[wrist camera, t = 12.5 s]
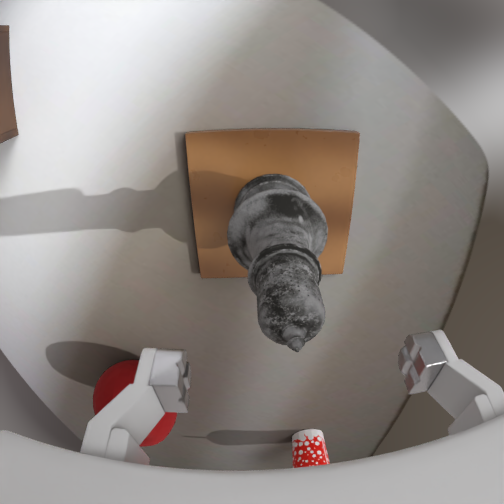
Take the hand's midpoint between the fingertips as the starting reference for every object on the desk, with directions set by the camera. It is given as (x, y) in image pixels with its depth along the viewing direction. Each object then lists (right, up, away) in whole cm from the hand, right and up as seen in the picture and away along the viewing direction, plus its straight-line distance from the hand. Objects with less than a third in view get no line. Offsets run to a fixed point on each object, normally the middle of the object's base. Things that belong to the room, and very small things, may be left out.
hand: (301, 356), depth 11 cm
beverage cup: (+6, -23, +31) cm, 39 cm away
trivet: (0, +7, +11) cm, 13 cm away
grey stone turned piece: (0, +7, +11) cm, 13 cm away
